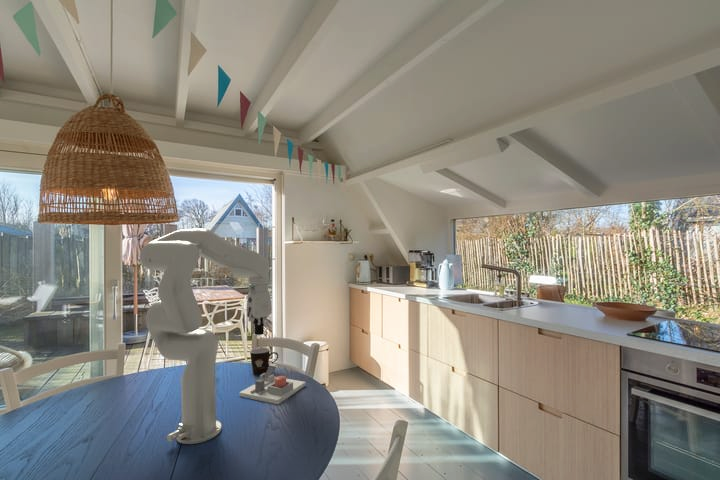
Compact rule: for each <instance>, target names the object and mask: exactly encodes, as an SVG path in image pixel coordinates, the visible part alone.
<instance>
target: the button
mask: <svg viewBox="0 0 720 480" xmlns="http://www.w3.org/2000/svg"><path fill="white" fill-rule="evenodd" d="M274 377H275V379H274V380H275V387H279V388H283V387H284V386H286V379H287V376H285V375H279V376H278V375H277V376H274Z"/></svg>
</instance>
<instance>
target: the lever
mask: <svg viewBox="0 0 720 480" xmlns="http://www.w3.org/2000/svg"><path fill="white" fill-rule="evenodd" d="M269 364H270V365H269ZM269 364H268V365H269V367H268V370H267V372H266V374H265V376H264V379H267V380H268V377H269V376H271V375H273V374H274V372H275V370H276V369H277V367H278V365H277V364H276V363H273V364H272V362H269Z"/></svg>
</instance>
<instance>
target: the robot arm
mask: <svg viewBox="0 0 720 480" xmlns="http://www.w3.org/2000/svg"><path fill="white" fill-rule="evenodd" d="M200 257H201V258H203V259H204V260H205V259H206V260H207V261H209V262H211V263H212V264H215V265H217V266H218V267H222V268H227V269H230V273H232V275H233V276H234V277H236V278H243V279H244V278H245V279H248V288H247V289H248V293H247V300H246V317H247V318H248V322H250V323H252V324H253V325H254V335H257V336H262V335H264V334H265V333H264V330H265V328H264V326H265V325H264V324H265V322H266V319H267V318H269V316H270V315H271V314H272V310H273V309H272V299H271V293H270V292H271V291H270V290H269V272H270V263H269V260H268V259H267V258H266V257H264V255H262V254H260V253H259V252H257V251H254V250H251V249H249V248H245V247H242V246H239V245H236V244H232V243H230V242H228V241H227V240H225V239H224V238H222V237H221V236H219V234H216V233H215V232H213V231H212V230H209V229H207V228H187V229H186V228H185V229H179V230H178V229H177V230H175V231H173V232H171V233H168V234H166V235H163V236H161V237H158V238H156V239H154V240H152V241H149V242H147V243H146V244H145V245H144V246H143V247H142V248H141V250H140V252H139V261H140V263H141V265H142V266H143V267H144V268H145V269H147V270H151V271H158V272H160V271H163V272H164V273H163V275H162V276H161V279H160V281H159V284H158V286H157V293H158V294H157V295H158V297H159V300H158V301H155V302H153V303H152V304H151V305H150V307H148V310H147V311H146V315H145V323H146V327H147V330H148V332H149V335H150V336H151V338H152V340H153V342H154V345H155V346H156V348H157V351H158V352H159V353H160V355H161V356H162V357H164V359H166V360H170V361H171V360H172V361H181V362H187V365H186V367H185V368H184V370H183V372H182V374H181V378H180V388H181V389H180V390H181V391H180V392H181V393H180V394H181V422H180V423H179V424H178V428H177V429H176V430H175V431H173V432H171V433H169V434H168V435H166V440H167V442H172V441H174V440H176V441H177V442H178V443H180V444H183V445H195V444H201V443H204V442H207V441H209V440H212V439H213V438H215V437H217V436H218V434H220V433H221V431H222V422H220V421H219V420H217V408H216V407H217V403H216V402H217V401H216V399H217V397H216V395H217V394H216V361H217V354H218V349H219V338H218V336H217V335H216V334H215V333H214V332H213V331H211V330H208V329H201V326H202V324H203V314H202V311H201V308H200V305H199V303H198V300H197V298H196V295H195V294H194V290H193V288H192V276H193V274H194V271H195V269H196V266H197V265H198V263H199V262H198V261H199V259H200Z"/></svg>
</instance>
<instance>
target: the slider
mask: <svg viewBox="0 0 720 480" xmlns="http://www.w3.org/2000/svg"><path fill="white" fill-rule="evenodd" d="M254 384H255V392H261V391H263V390H265V384H264V380H262V379H260V378H259V379H257V380H255V381H254Z"/></svg>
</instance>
